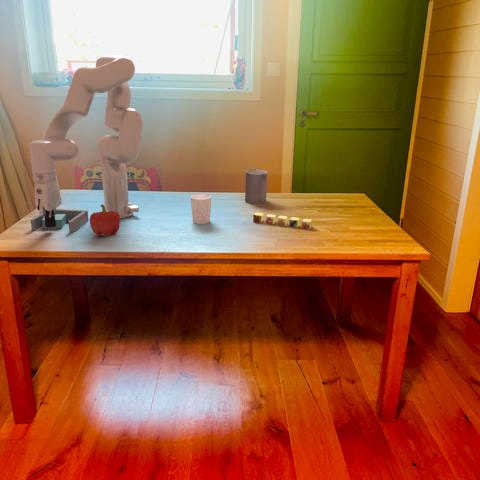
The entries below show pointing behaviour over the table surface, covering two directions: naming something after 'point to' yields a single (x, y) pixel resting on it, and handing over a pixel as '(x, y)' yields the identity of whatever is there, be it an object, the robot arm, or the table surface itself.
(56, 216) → the teal square block
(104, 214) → the vegetable
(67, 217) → the box
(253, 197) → the pillar candle
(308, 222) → the row of toy blocks
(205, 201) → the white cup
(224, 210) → the table surface
